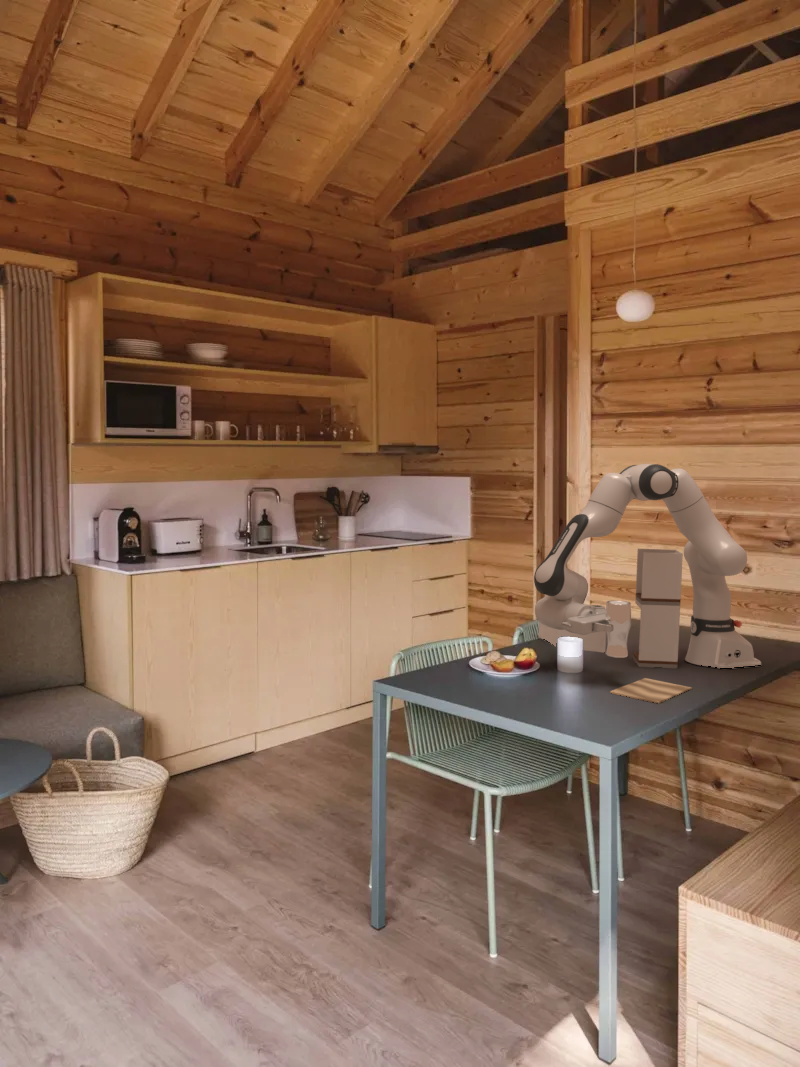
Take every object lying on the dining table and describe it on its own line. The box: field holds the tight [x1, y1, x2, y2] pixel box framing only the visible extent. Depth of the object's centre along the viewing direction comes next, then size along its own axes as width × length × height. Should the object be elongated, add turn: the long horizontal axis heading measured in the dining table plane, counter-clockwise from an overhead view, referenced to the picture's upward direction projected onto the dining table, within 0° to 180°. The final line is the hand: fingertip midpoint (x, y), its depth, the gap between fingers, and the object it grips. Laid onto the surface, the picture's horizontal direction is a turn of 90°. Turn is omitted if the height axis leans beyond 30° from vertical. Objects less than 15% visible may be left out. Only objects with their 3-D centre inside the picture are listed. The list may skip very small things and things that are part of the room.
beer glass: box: [605, 599, 632, 659], centre depth 243 cm, size 7×7×15 cm
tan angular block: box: [538, 621, 607, 653], centre depth 294 cm, size 14×29×10 cm, turn 39°
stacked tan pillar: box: [632, 548, 684, 669], centre depth 268 cm, size 11×11×35 cm
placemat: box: [609, 677, 693, 705], centre depth 237 cm, size 20×14×1 cm
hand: (620, 627), depth 242 cm, fingers closed on beer glass, 6 cm apart
